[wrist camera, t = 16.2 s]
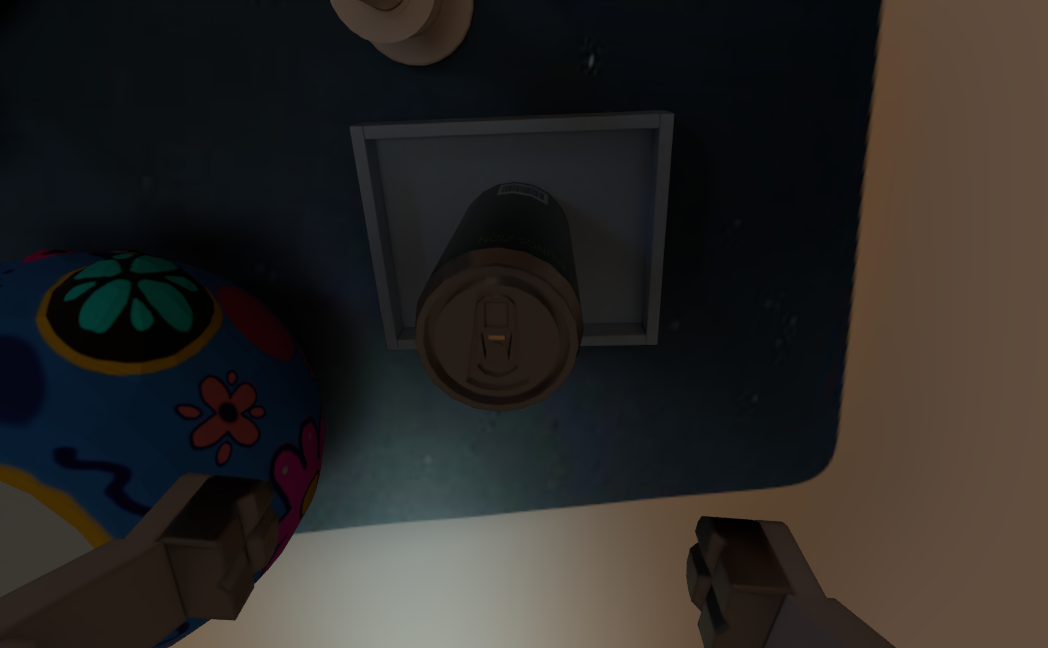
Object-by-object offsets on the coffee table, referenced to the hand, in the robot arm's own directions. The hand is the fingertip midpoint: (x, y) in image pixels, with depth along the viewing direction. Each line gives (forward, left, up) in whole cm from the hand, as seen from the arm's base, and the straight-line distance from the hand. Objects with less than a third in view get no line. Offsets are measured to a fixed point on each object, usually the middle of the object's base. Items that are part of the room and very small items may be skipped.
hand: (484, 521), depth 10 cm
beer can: (0, 0, -19) cm, 19 cm away
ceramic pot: (+18, +7, -19) cm, 28 cm away
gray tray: (0, 0, -19) cm, 19 cm away
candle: (+4, -11, -19) cm, 23 cm away
